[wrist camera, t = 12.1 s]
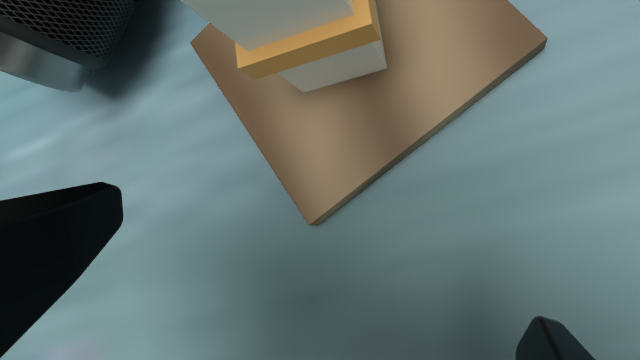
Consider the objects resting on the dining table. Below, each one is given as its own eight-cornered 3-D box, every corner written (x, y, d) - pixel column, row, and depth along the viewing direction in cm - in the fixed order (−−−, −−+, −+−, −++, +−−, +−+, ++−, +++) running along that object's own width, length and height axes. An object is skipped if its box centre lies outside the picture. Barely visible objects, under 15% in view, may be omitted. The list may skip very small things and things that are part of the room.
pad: (317, 225, 19) (308, 225, 18) (202, 50, 23) (190, 42, 22) (543, 49, 16) (547, 38, 15) (369, -118, 20) (364, -135, 19)
